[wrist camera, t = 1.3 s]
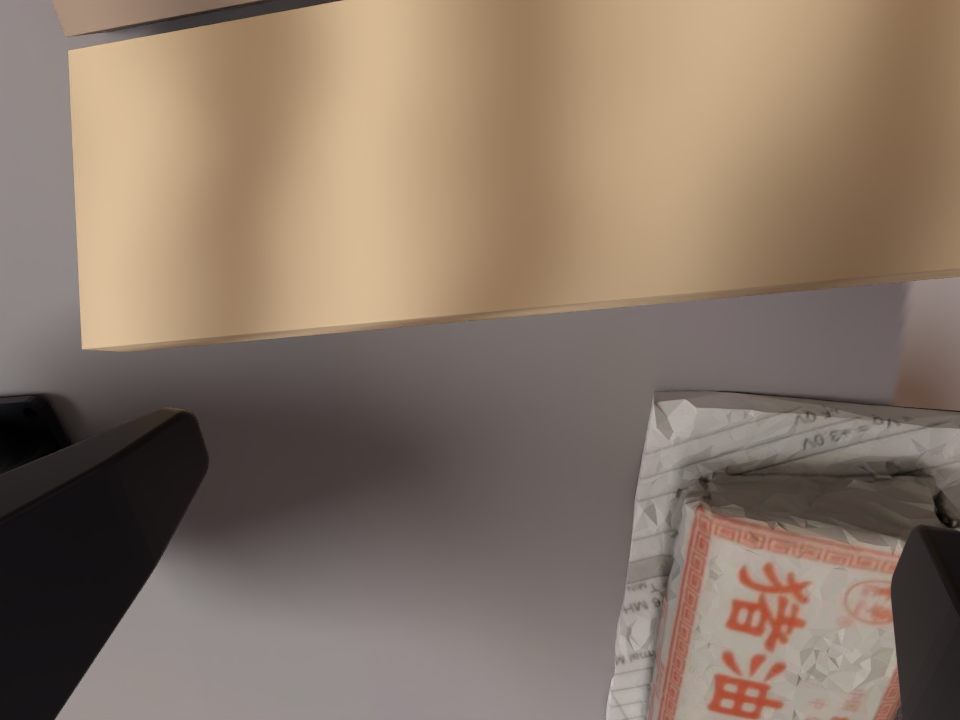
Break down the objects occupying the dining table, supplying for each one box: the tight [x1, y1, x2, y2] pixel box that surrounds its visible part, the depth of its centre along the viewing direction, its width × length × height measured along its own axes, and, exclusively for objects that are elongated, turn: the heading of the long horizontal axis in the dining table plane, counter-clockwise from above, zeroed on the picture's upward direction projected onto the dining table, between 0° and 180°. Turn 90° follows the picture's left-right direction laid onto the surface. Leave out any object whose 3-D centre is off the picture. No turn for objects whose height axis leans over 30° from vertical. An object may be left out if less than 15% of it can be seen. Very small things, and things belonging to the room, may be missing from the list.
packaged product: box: [606, 391, 960, 720], centre depth 23 cm, size 18×5×10 cm
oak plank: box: [68, 0, 960, 352], centre depth 16 cm, size 20×7×2 cm
